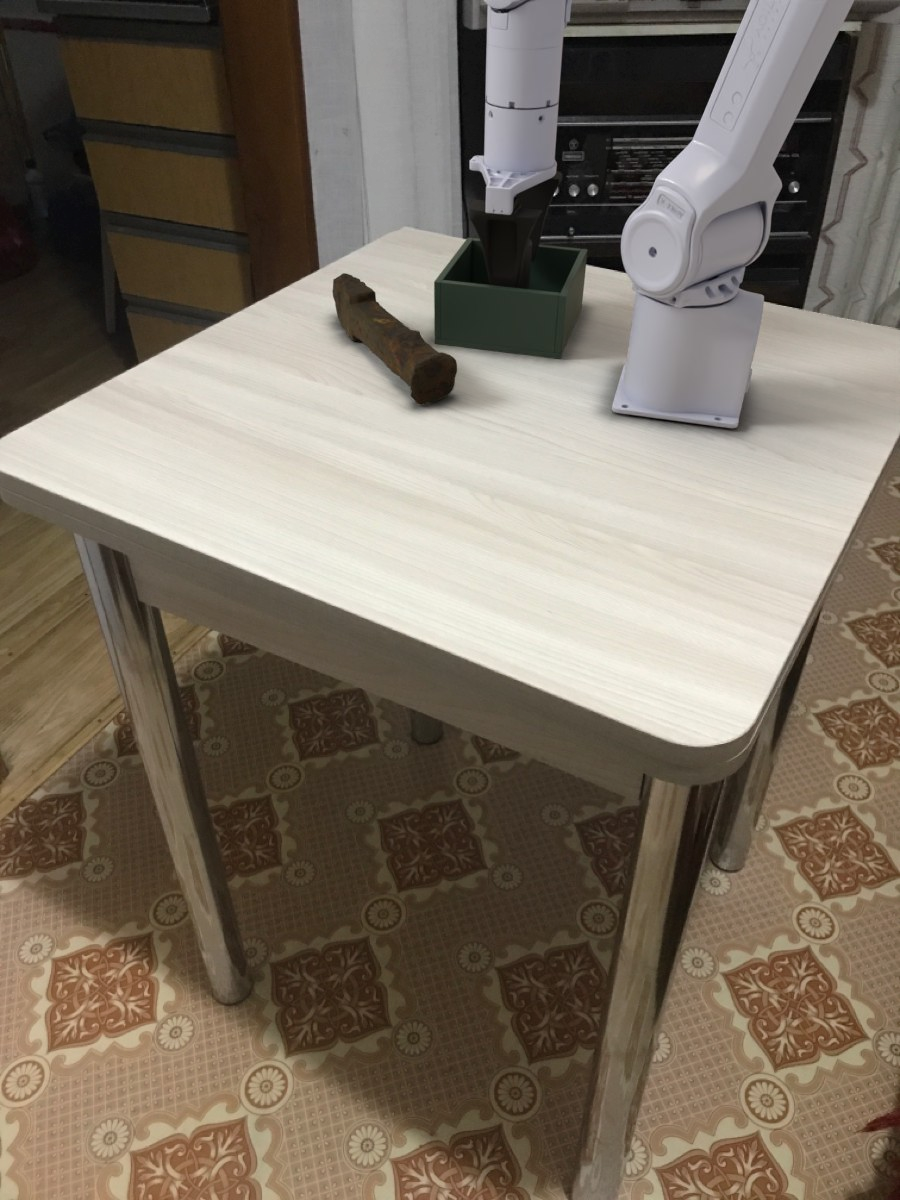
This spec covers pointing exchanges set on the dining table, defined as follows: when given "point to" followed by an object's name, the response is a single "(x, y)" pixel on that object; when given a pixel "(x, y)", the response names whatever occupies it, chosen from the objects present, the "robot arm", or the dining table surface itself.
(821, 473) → the dining table surface
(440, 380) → the hand tool
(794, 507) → the dining table surface
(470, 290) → the green storage bin
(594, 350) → the dining table surface
